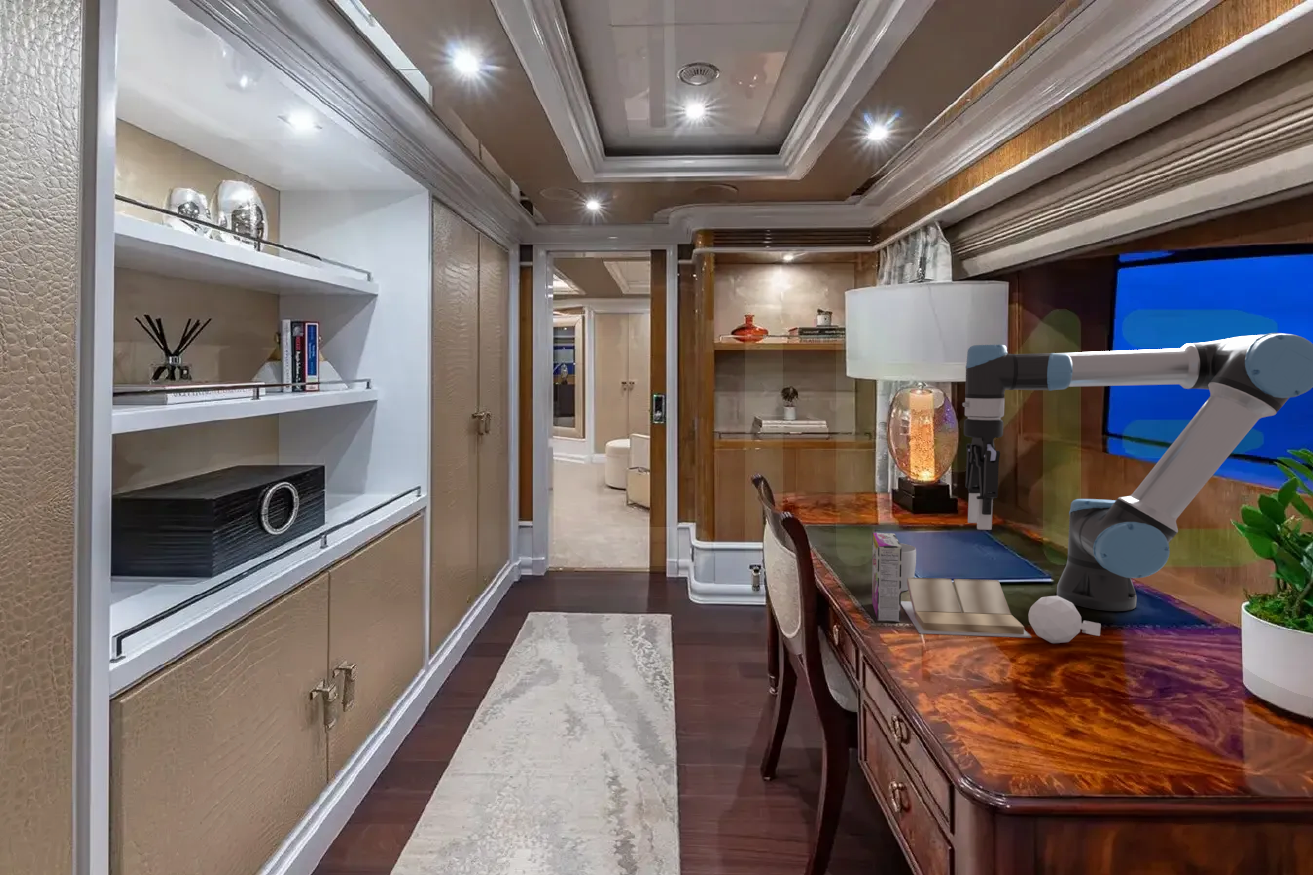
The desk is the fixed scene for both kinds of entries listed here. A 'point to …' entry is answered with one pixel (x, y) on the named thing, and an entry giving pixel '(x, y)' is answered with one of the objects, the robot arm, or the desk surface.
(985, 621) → the laid plank
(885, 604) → the candy bar box
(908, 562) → the mug
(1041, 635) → the perfume bottle
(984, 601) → the panel
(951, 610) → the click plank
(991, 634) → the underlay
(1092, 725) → the desk surface
